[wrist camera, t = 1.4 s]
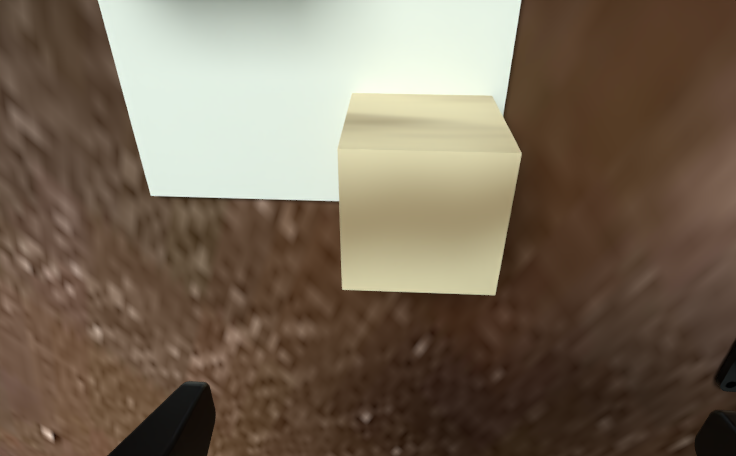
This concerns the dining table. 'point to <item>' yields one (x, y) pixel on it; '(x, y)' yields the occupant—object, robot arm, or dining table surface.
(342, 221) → the maple cube
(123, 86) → the white board
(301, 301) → the dining table surface
